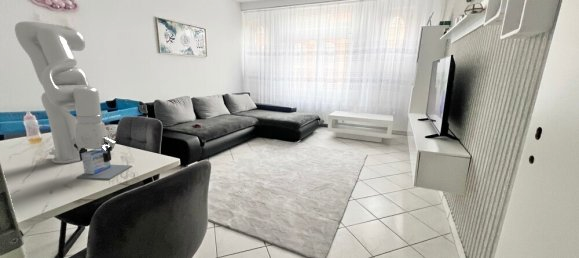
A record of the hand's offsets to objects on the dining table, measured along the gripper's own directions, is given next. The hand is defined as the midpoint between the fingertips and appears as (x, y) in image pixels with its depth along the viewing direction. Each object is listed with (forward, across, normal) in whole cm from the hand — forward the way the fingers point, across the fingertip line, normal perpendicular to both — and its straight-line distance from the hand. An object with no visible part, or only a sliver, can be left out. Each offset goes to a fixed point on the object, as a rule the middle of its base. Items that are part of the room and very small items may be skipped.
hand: (96, 160), depth 100 cm
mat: (+5, +4, 0) cm, 6 cm away
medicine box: (+4, +1, 0) cm, 4 cm away
